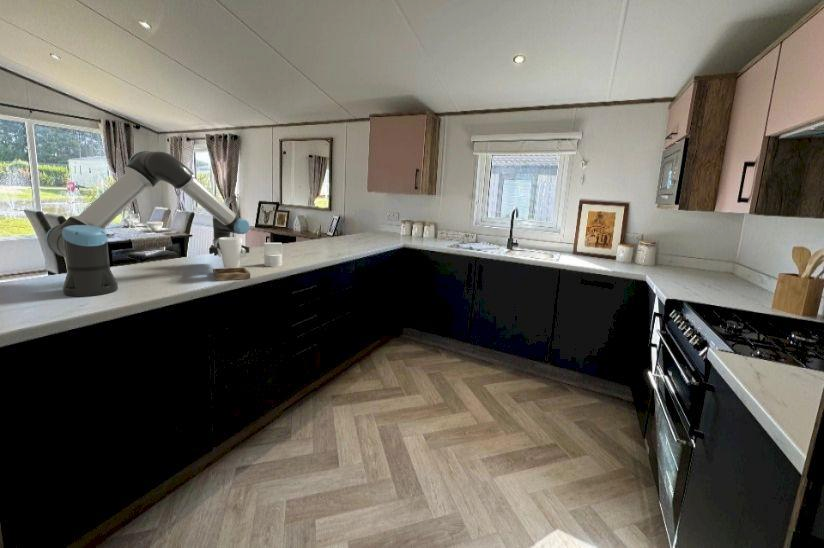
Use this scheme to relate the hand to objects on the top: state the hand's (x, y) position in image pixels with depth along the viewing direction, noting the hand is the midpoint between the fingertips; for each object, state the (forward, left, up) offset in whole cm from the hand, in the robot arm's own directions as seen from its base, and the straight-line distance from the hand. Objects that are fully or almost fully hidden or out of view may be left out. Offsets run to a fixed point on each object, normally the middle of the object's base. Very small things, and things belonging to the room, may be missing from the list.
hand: (232, 253), depth 164 cm
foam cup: (0, +5, -7) cm, 8 cm away
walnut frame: (0, +4, -12) cm, 12 cm away
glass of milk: (+24, +26, -12) cm, 38 cm away
